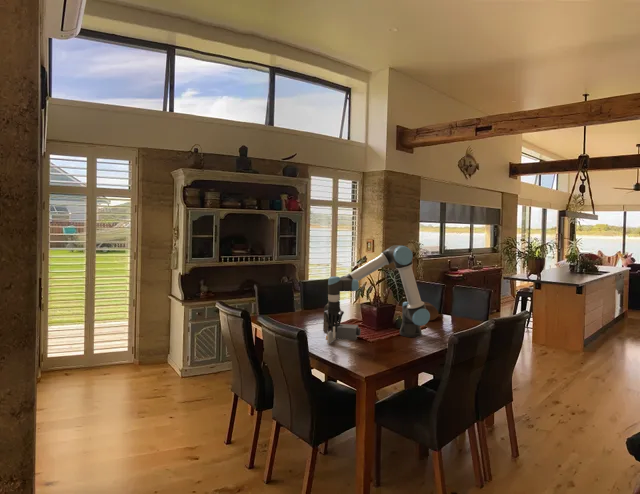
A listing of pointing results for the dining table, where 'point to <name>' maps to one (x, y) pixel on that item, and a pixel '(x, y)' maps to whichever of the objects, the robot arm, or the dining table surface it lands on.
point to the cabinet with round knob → (348, 332)
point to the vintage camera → (325, 324)
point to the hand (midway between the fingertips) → (333, 336)
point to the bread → (431, 311)
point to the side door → (330, 337)
